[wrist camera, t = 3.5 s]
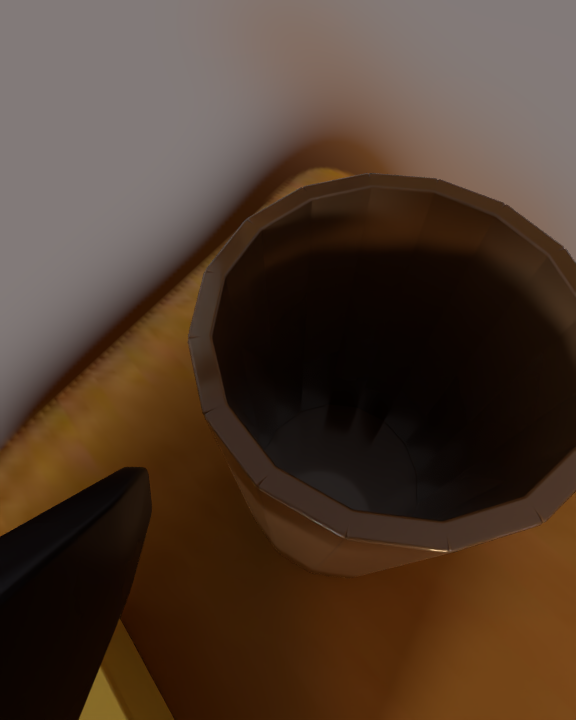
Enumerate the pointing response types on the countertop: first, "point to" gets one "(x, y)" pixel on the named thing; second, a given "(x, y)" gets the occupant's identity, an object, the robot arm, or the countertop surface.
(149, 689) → the yellow block
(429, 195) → the brown faceted cup
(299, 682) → the countertop surface
